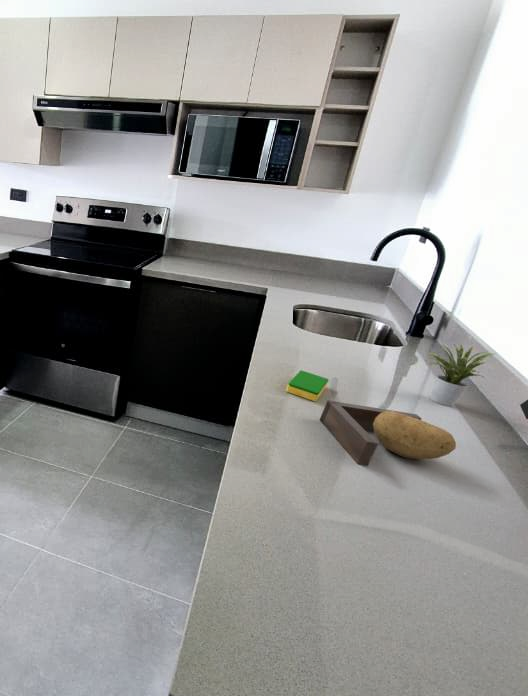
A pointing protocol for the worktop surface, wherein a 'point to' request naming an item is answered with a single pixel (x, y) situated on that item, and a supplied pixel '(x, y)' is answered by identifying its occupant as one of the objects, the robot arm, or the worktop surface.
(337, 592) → the worktop surface
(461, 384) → the house plant
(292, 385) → the dish sponge
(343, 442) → the wooden corner bracket
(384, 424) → the potato
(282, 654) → the worktop surface
